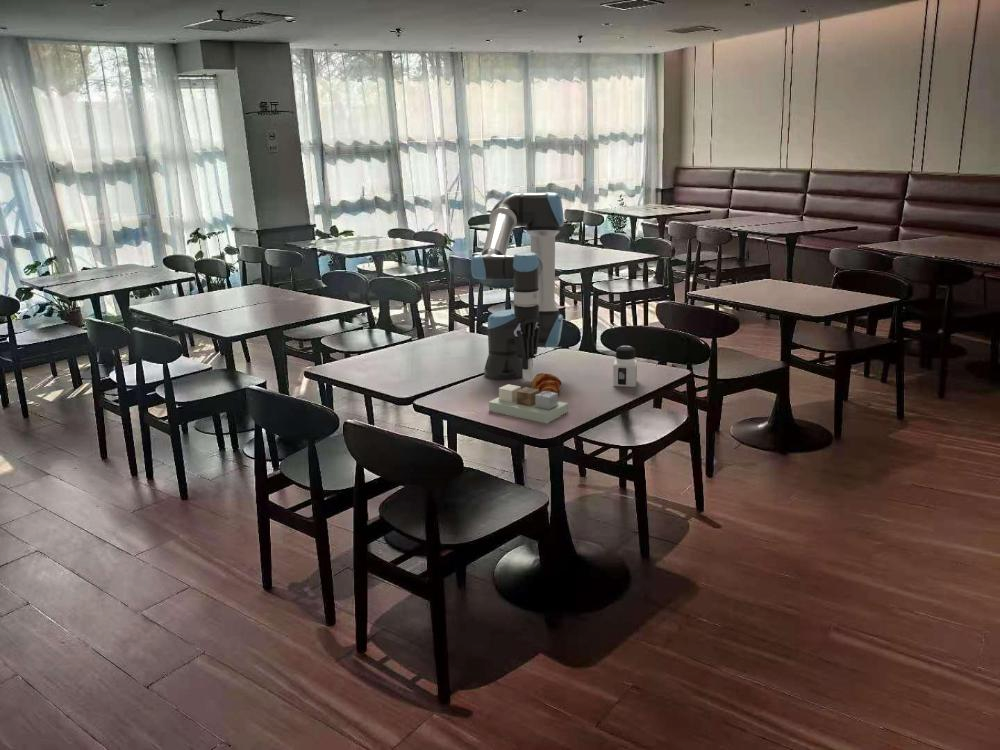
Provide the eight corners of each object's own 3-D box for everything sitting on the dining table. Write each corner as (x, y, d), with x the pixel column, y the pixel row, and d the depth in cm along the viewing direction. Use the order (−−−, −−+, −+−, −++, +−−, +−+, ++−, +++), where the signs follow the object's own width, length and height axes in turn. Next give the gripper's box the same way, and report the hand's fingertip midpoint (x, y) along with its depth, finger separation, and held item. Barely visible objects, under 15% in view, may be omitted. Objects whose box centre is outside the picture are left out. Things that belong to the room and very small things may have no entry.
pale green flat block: (489, 410, 257) (488, 401, 256) (510, 400, 266) (510, 391, 266) (547, 423, 245) (547, 414, 244) (567, 412, 254) (567, 403, 253)
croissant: (534, 391, 286) (523, 373, 284) (559, 377, 285) (548, 359, 283) (542, 410, 266) (530, 390, 264) (568, 395, 265) (557, 375, 263)
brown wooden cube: (517, 406, 254) (516, 391, 253) (526, 402, 258) (525, 387, 257) (530, 409, 252) (530, 393, 250) (539, 404, 255) (538, 389, 254)
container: (635, 387, 277) (636, 350, 273) (613, 386, 278) (613, 349, 274) (636, 380, 284) (637, 344, 280) (614, 379, 285) (615, 344, 282)
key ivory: (499, 403, 259) (498, 388, 257) (508, 398, 262) (507, 384, 261) (511, 405, 256) (511, 390, 254) (520, 401, 260) (520, 386, 258)
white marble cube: (535, 410, 250) (535, 394, 249) (544, 405, 254) (544, 390, 253) (549, 413, 248) (549, 397, 246) (557, 408, 251) (557, 393, 250)
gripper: (524, 309, 238) (525, 385, 245) (548, 301, 248) (549, 375, 255) (503, 306, 243) (505, 381, 249) (528, 299, 253) (529, 371, 259)
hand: (527, 378), depth 252 cm, fingers closed
